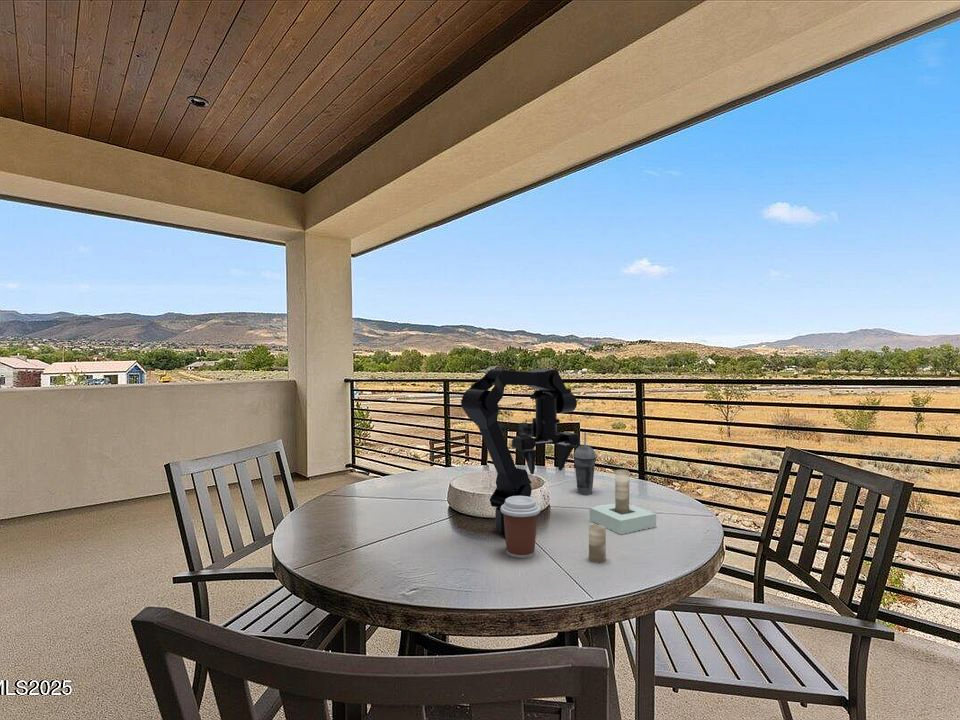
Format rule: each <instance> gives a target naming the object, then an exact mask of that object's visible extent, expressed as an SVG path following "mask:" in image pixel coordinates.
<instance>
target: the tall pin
mask: <svg viewBox="0 0 960 720" xmlns="http://www.w3.org/2000/svg"><path fill="white" fill-rule="evenodd" d="M614 473H615V476H614V477H615V478H614V480H615V481H614V482H615V484H614V485H615V486H614V491H615V492H614V493H615V494H614V498H615V499H614V503H615V512H616V513H619V514H621V515H623V514H628V513H629V504H630V471H629V470H627V469H616V470H615V472H614Z"/></svg>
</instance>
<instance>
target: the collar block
mask: <svg viewBox="0 0 960 720" xmlns="http://www.w3.org/2000/svg"><path fill="white" fill-rule="evenodd" d="M590 520H591V521H590ZM589 521H590V522H592V521H593V522H592V523H594V522H595V523H594V524H596V523H597V524H596V525H598V524H600V525H602V526H604V527H606V529H607V528H608V529H607V530H609V529H611V530H612V532H614V533H616V532H617V533H616V534H618V533H619V534H618V535H620V534H622V535H625V533H627V534H631V533H635V532H634V531H636V532H639V531H638V530H640V531H643V530H642V529H645V530H649V529H648V528H650V529H654V528H657V513H656V512H655V513H654V512H652V511H651V510H650V511H649V510H647V509H644V508H642V507H639V506H637V505H633V504H630V503H629V513H628V514H623V515H621V514H619V513H616V512H615V502H614V503H608V504H603V505H597V506H592V507H589ZM653 527H654V528H653ZM611 530H610V531H611ZM630 532H631V533H630Z"/></svg>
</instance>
